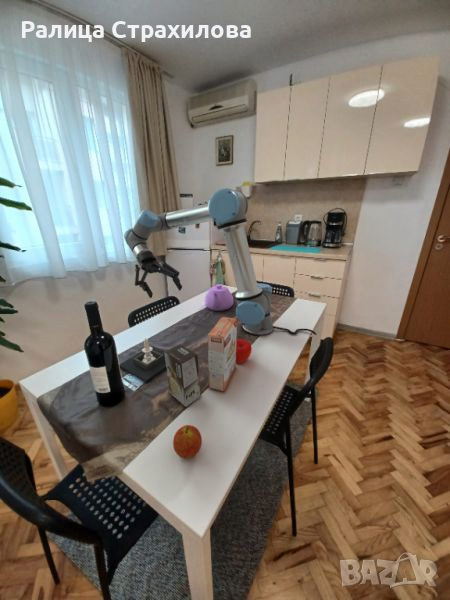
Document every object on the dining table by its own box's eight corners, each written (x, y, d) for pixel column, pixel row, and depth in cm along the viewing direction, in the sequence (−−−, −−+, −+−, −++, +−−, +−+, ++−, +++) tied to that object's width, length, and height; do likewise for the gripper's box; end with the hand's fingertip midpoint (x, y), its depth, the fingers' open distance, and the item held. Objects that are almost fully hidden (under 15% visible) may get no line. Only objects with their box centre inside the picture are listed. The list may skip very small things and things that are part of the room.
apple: (247, 369, 90) (248, 351, 87) (225, 364, 93) (225, 347, 90) (253, 356, 98) (254, 339, 95) (233, 352, 100) (233, 335, 97)
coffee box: (201, 396, 77) (199, 354, 71) (185, 407, 73) (181, 364, 67) (183, 383, 83) (180, 343, 77) (168, 392, 79) (163, 351, 73)
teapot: (208, 298, 158) (207, 278, 153) (235, 299, 156) (235, 279, 151) (200, 314, 135) (198, 291, 130) (231, 316, 133) (231, 293, 128)
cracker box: (225, 392, 79) (224, 337, 71) (208, 388, 80) (206, 334, 73) (236, 367, 91) (237, 318, 83) (222, 364, 93) (221, 315, 85)
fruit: (178, 470, 56) (175, 446, 53) (171, 445, 61) (168, 422, 58) (206, 457, 58) (205, 434, 55) (197, 434, 64) (195, 412, 61)
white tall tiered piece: (144, 366, 90) (140, 343, 86) (140, 360, 94) (136, 337, 90) (157, 361, 93) (154, 338, 89) (153, 355, 97) (150, 333, 93)
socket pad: (178, 359, 96) (178, 353, 95) (146, 382, 83) (145, 375, 82) (151, 347, 104) (150, 341, 103) (119, 367, 91) (117, 360, 90)
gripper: (168, 258, 117) (189, 291, 109) (115, 267, 101) (136, 305, 94) (171, 247, 111) (194, 280, 104) (116, 253, 96) (138, 293, 88)
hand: (166, 292), depth 99 cm, fingers open, 13 cm apart
